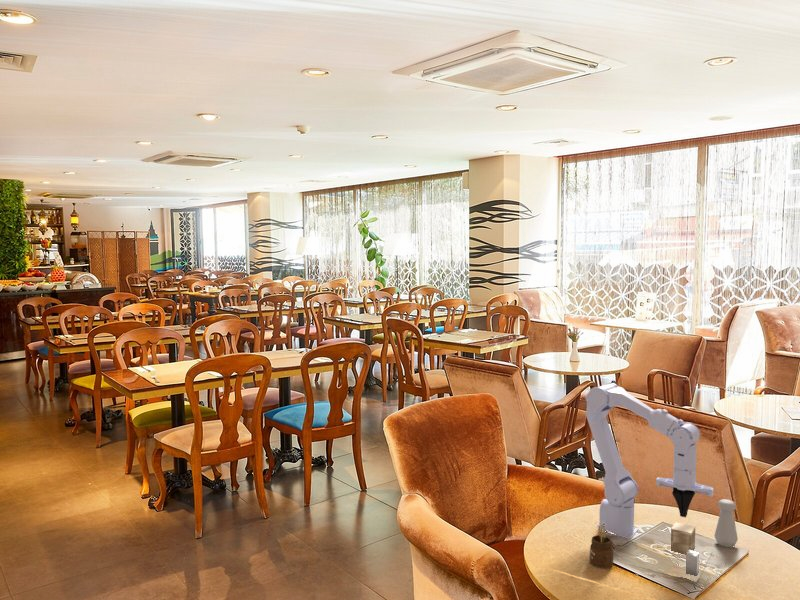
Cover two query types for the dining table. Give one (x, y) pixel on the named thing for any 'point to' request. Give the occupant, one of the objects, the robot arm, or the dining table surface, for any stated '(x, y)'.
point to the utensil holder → (601, 550)
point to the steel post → (692, 562)
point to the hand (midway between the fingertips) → (683, 515)
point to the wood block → (682, 538)
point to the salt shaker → (726, 524)
